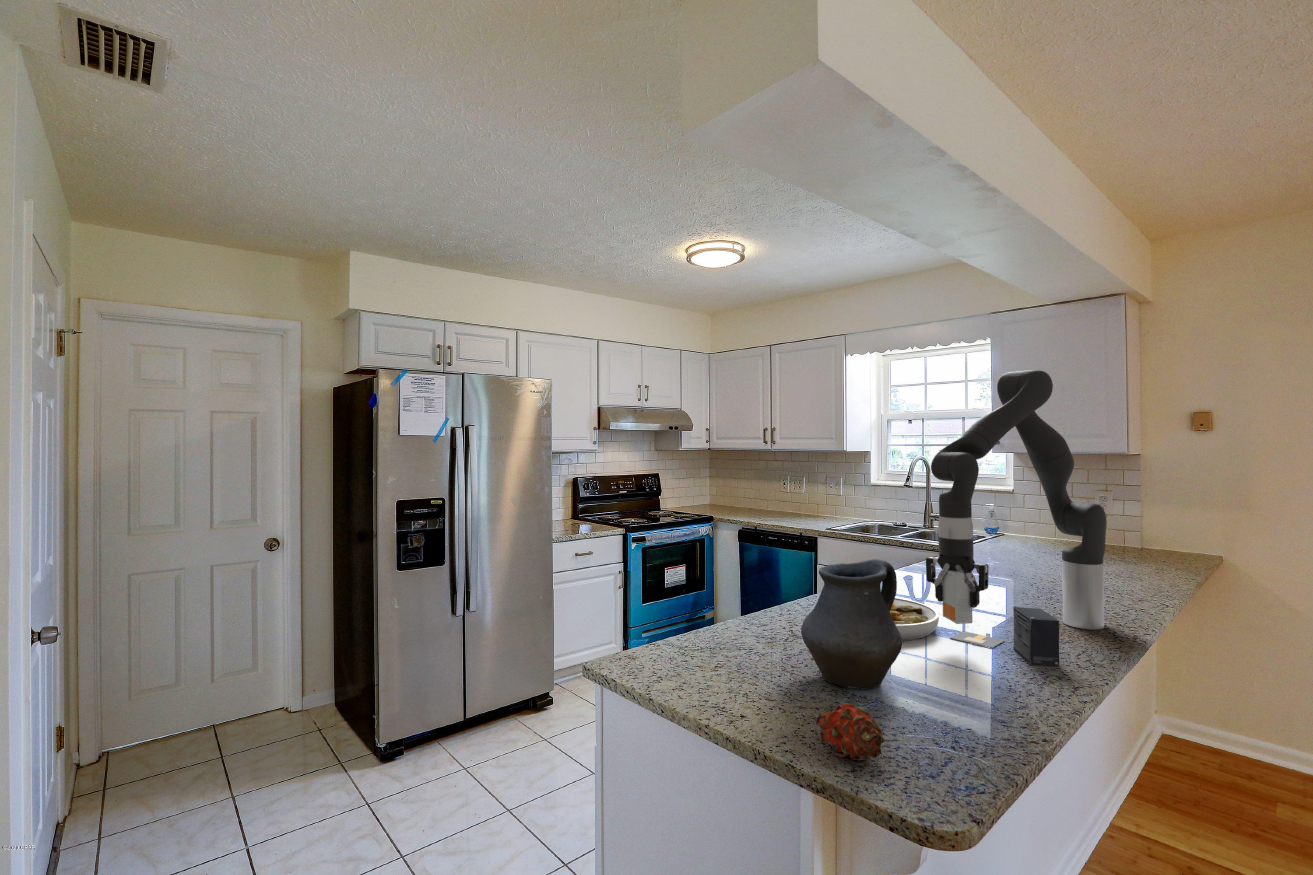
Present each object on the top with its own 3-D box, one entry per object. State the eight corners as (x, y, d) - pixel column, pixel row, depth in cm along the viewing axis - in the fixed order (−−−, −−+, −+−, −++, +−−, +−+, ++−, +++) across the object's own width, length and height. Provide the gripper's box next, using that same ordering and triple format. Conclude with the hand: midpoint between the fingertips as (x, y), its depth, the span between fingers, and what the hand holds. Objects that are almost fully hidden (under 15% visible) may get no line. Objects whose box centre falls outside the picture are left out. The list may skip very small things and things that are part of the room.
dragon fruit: (884, 783, 93) (820, 763, 103) (904, 735, 98) (841, 720, 108) (858, 746, 91) (795, 729, 101) (880, 699, 96) (818, 687, 105)
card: (963, 632, 161) (963, 630, 161) (1005, 641, 153) (1005, 639, 153) (950, 638, 156) (950, 637, 156) (992, 648, 148) (992, 647, 148)
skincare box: (941, 616, 150) (941, 567, 150) (958, 616, 150) (957, 567, 150) (956, 624, 144) (955, 573, 144) (973, 623, 144) (972, 572, 144)
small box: (1062, 667, 136) (1061, 620, 136) (1029, 665, 137) (1029, 618, 137) (1042, 651, 146) (1041, 607, 146) (1012, 649, 148) (1011, 605, 148)
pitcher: (782, 671, 135) (781, 558, 135) (859, 656, 143) (858, 550, 144) (845, 708, 116) (844, 576, 116) (930, 689, 125) (929, 566, 125)
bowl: (946, 621, 172) (945, 593, 172) (929, 652, 147) (928, 620, 147) (839, 606, 188) (838, 580, 188) (806, 632, 163) (806, 603, 163)
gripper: (993, 536, 144) (995, 606, 144) (933, 530, 155) (934, 595, 155) (980, 540, 139) (982, 613, 139) (918, 533, 150) (920, 601, 150)
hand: (956, 603), depth 147 cm, fingers closed on skincare box, 7 cm apart
